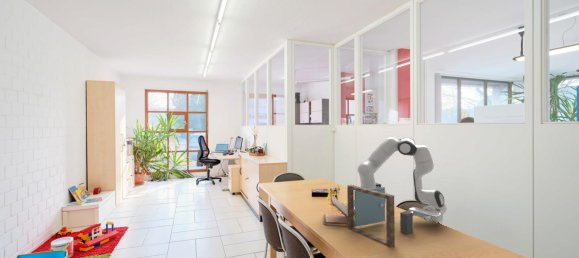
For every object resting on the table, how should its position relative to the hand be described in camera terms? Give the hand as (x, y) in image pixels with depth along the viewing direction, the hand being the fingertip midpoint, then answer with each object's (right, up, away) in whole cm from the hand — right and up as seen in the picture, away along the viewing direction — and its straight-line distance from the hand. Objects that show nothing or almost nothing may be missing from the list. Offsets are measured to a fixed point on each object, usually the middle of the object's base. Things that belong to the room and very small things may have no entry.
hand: (417, 216), depth 170 cm
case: (-48, -8, +15) cm, 51 cm away
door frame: (-35, -8, -12) cm, 38 cm away
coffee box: (-10, -7, +56) cm, 57 cm away
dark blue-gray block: (-10, -7, -7) cm, 14 cm away
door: (-29, -6, +3) cm, 30 cm away
